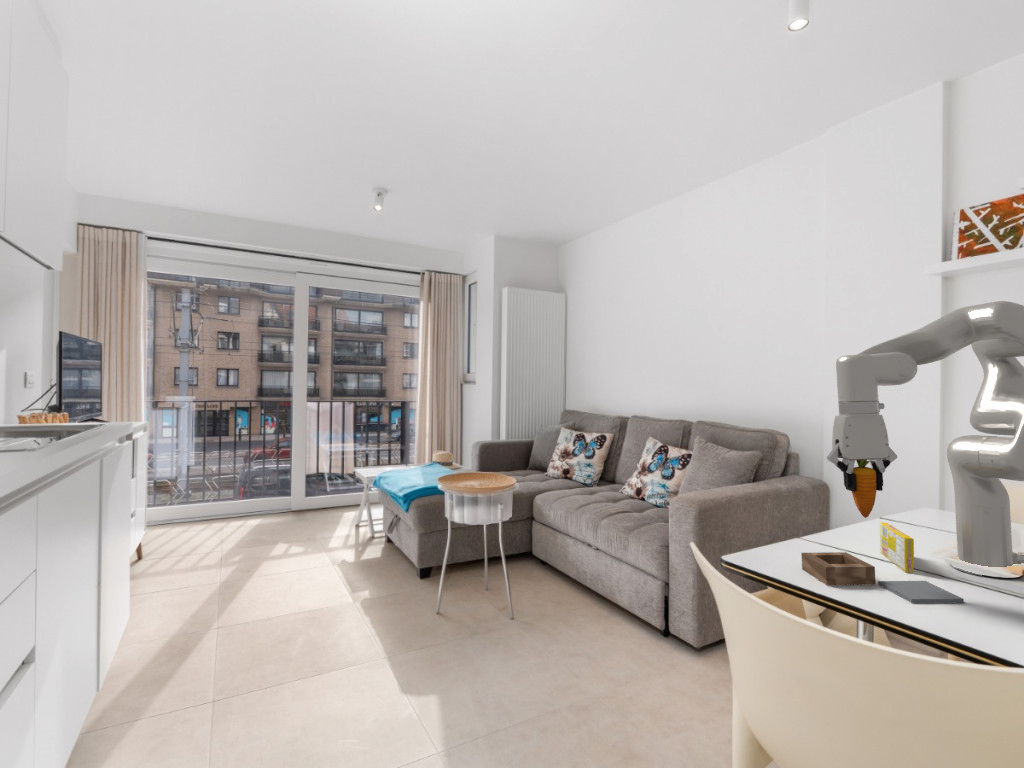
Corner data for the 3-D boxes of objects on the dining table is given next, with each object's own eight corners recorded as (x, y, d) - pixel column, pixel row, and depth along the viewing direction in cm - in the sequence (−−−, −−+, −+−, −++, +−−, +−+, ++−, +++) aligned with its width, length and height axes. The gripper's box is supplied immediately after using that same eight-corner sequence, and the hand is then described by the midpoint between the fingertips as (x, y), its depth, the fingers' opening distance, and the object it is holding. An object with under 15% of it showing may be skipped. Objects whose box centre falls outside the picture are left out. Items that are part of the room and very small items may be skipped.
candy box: (916, 574, 117) (914, 538, 117) (905, 573, 118) (903, 537, 118) (889, 553, 132) (887, 521, 133) (879, 552, 133) (877, 521, 133)
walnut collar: (846, 569, 121) (846, 552, 121) (875, 585, 111) (874, 566, 111) (802, 569, 122) (801, 552, 122) (826, 585, 111) (825, 567, 111)
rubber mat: (925, 584, 110) (925, 580, 110) (963, 602, 100) (963, 598, 100) (878, 584, 111) (878, 581, 111) (911, 603, 101) (911, 599, 101)
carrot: (851, 514, 116) (847, 449, 117) (878, 516, 114) (873, 449, 114) (852, 519, 112) (848, 452, 112) (880, 521, 109) (875, 452, 110)
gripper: (887, 407, 116) (892, 486, 116) (810, 410, 118) (815, 488, 117) (910, 408, 109) (915, 492, 108) (828, 411, 110) (833, 494, 110)
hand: (863, 489), depth 113 cm, fingers closed on carrot, 4 cm apart
